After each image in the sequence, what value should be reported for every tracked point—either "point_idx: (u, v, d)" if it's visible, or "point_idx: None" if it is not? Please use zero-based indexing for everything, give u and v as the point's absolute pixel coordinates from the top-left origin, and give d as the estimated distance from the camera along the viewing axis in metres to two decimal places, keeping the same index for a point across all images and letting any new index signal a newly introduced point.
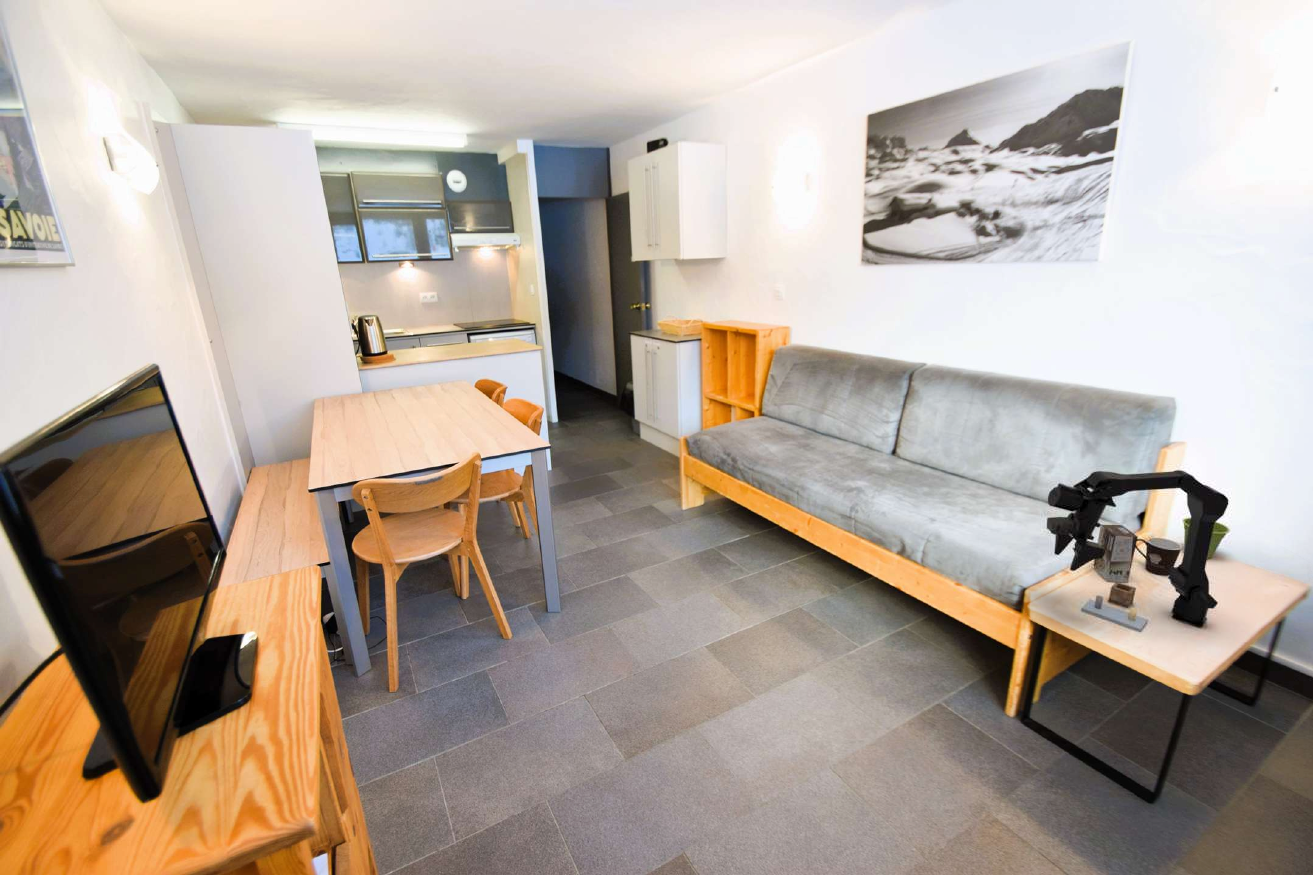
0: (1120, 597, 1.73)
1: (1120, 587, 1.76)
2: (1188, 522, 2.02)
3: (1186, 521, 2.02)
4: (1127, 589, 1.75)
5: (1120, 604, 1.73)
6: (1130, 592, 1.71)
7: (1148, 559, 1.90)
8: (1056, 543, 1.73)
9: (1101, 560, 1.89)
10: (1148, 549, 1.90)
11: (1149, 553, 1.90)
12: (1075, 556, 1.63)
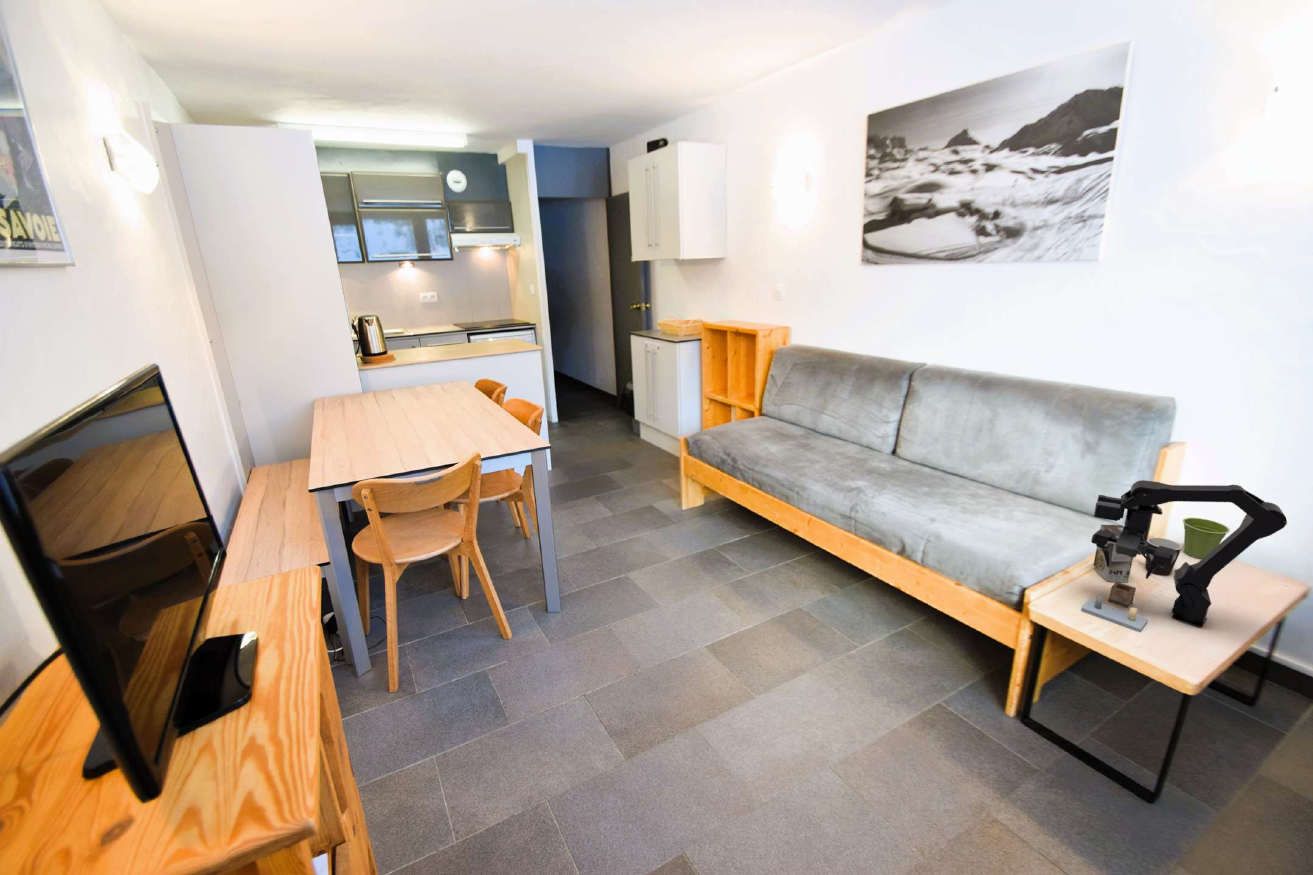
0: (1120, 597, 1.73)
1: (1120, 587, 1.76)
2: (1188, 522, 2.02)
3: (1186, 521, 2.02)
4: (1127, 589, 1.75)
5: (1120, 604, 1.73)
6: (1130, 592, 1.71)
7: (1148, 559, 1.90)
8: (1107, 557, 1.75)
9: (1101, 560, 1.89)
10: None
11: None
12: (1152, 566, 1.66)
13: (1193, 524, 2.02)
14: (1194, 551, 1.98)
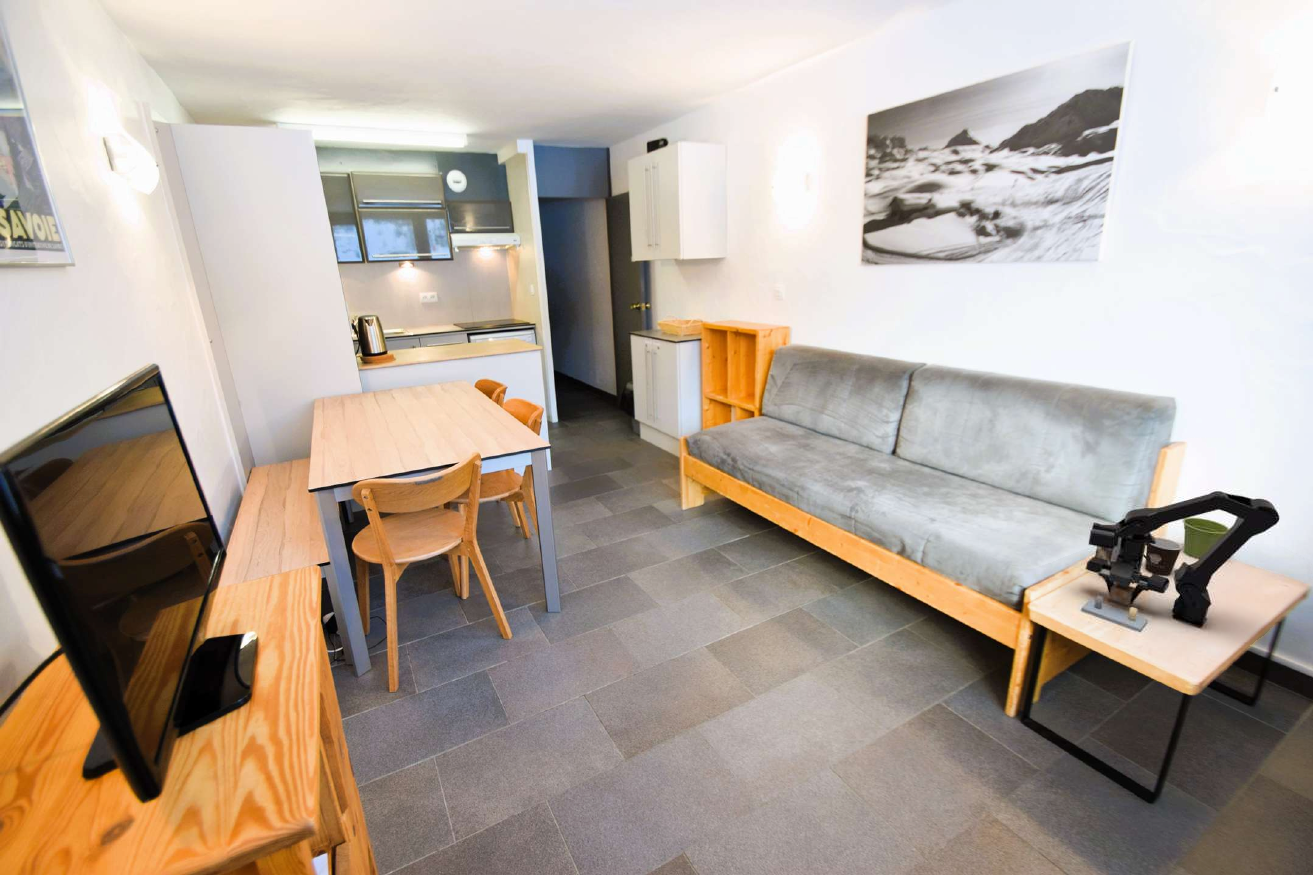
0: (1120, 597, 1.73)
1: (1120, 587, 1.76)
2: (1188, 522, 2.02)
3: (1186, 521, 2.02)
4: (1127, 589, 1.75)
5: (1120, 604, 1.73)
6: (1130, 592, 1.71)
7: (1148, 559, 1.90)
8: (1109, 586, 1.76)
9: None
10: (1148, 549, 1.90)
11: (1149, 553, 1.90)
12: (1137, 591, 1.70)
13: (1193, 524, 2.02)
14: (1194, 551, 1.98)
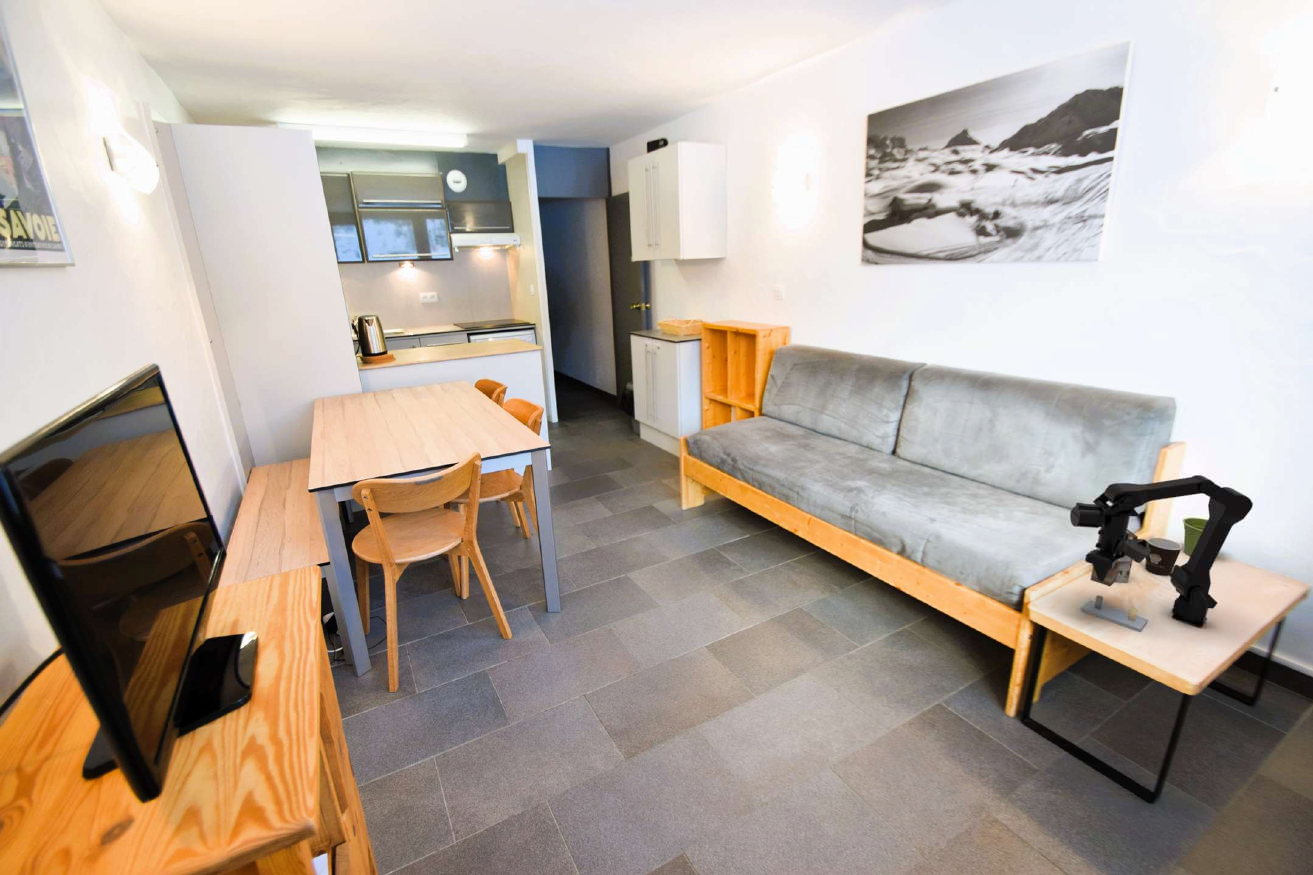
0: (1115, 575, 1.67)
1: None
2: (1188, 522, 2.02)
3: (1186, 521, 2.02)
4: None
5: (1114, 581, 1.67)
6: None
7: (1148, 559, 1.90)
8: None
9: None
10: None
11: (1149, 553, 1.90)
12: (1116, 560, 1.68)
13: (1193, 524, 2.02)
14: None
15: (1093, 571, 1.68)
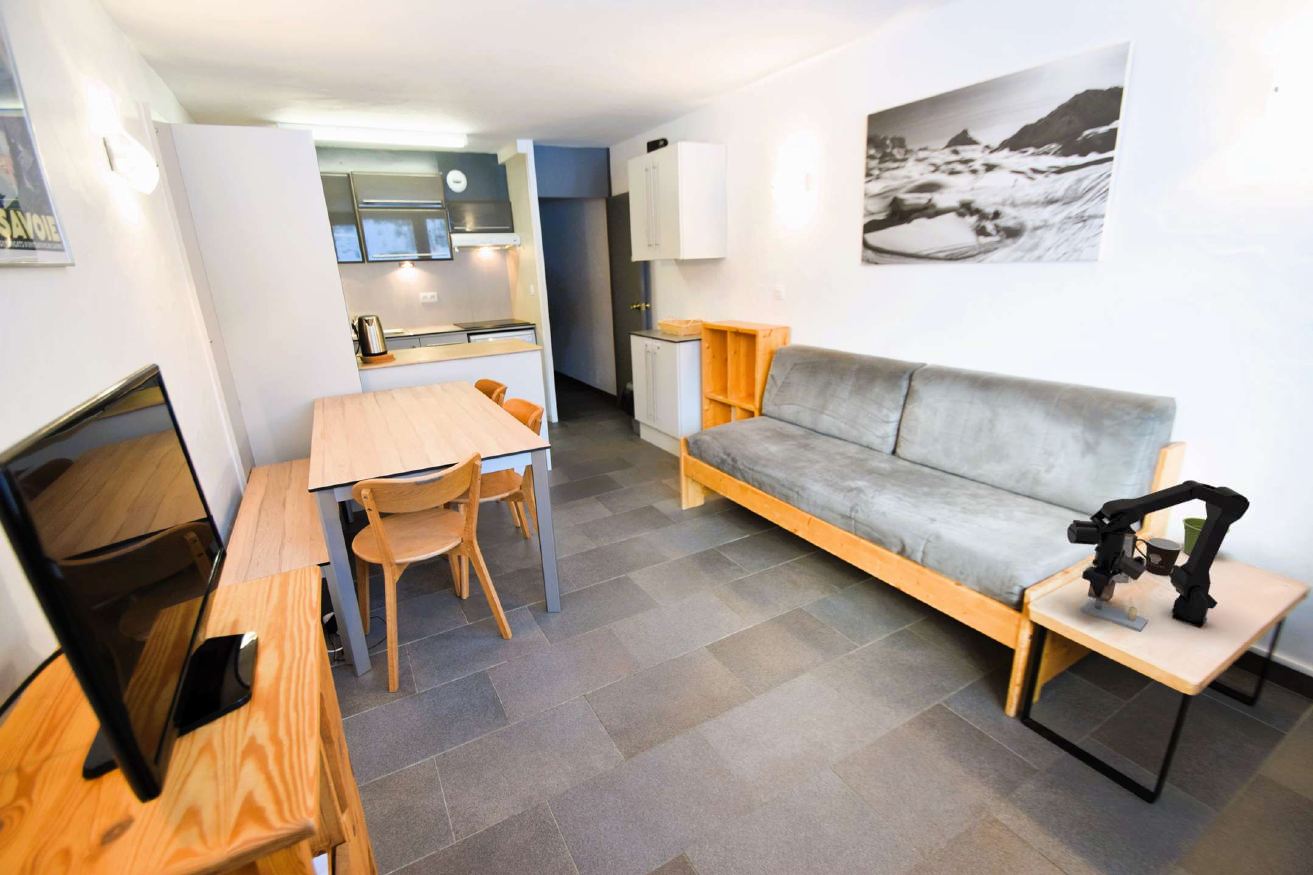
0: (1112, 591, 1.68)
1: None
2: (1188, 522, 2.02)
3: (1186, 521, 2.02)
4: None
5: (1111, 597, 1.69)
6: None
7: (1148, 559, 1.90)
8: (1103, 588, 1.67)
9: None
10: (1148, 549, 1.90)
11: (1149, 553, 1.90)
12: (1113, 576, 1.70)
13: (1193, 524, 2.02)
14: None
15: (1090, 587, 1.70)
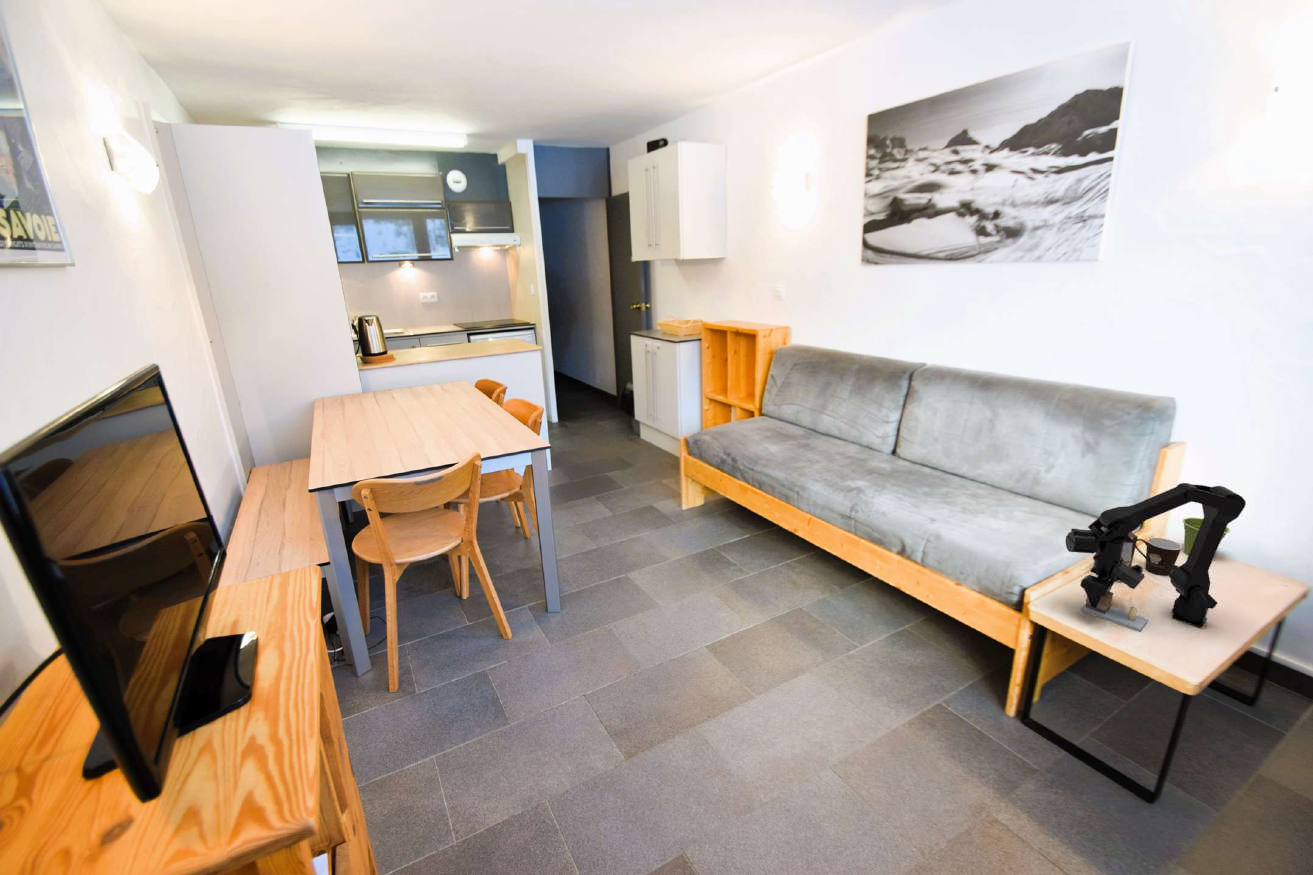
0: (1109, 602, 1.69)
1: None
2: (1188, 522, 2.02)
3: (1186, 521, 2.02)
4: None
5: (1108, 608, 1.70)
6: (1110, 592, 1.70)
7: (1148, 559, 1.90)
8: (1099, 599, 1.66)
9: None
10: (1148, 549, 1.90)
11: (1149, 553, 1.90)
12: (1113, 582, 1.72)
13: (1193, 524, 2.02)
14: None
15: None
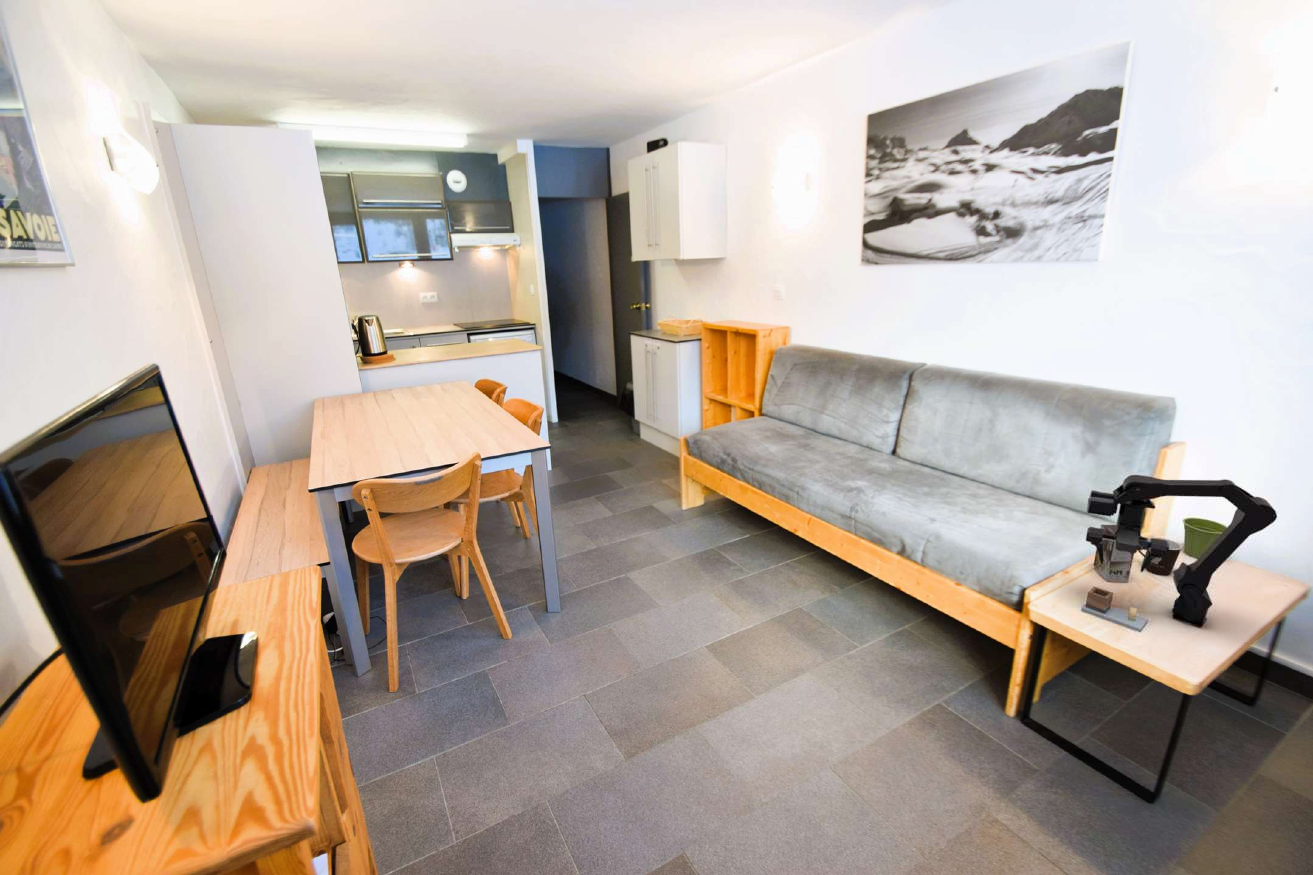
0: (1109, 602, 1.69)
1: None
2: (1188, 522, 2.02)
3: (1186, 521, 2.02)
4: (1094, 592, 1.72)
5: (1108, 608, 1.70)
6: (1110, 592, 1.70)
7: None
8: (1101, 554, 1.73)
9: None
10: None
11: None
12: (1148, 559, 1.66)
13: (1193, 524, 2.02)
14: (1194, 551, 1.98)
15: (1088, 598, 1.71)
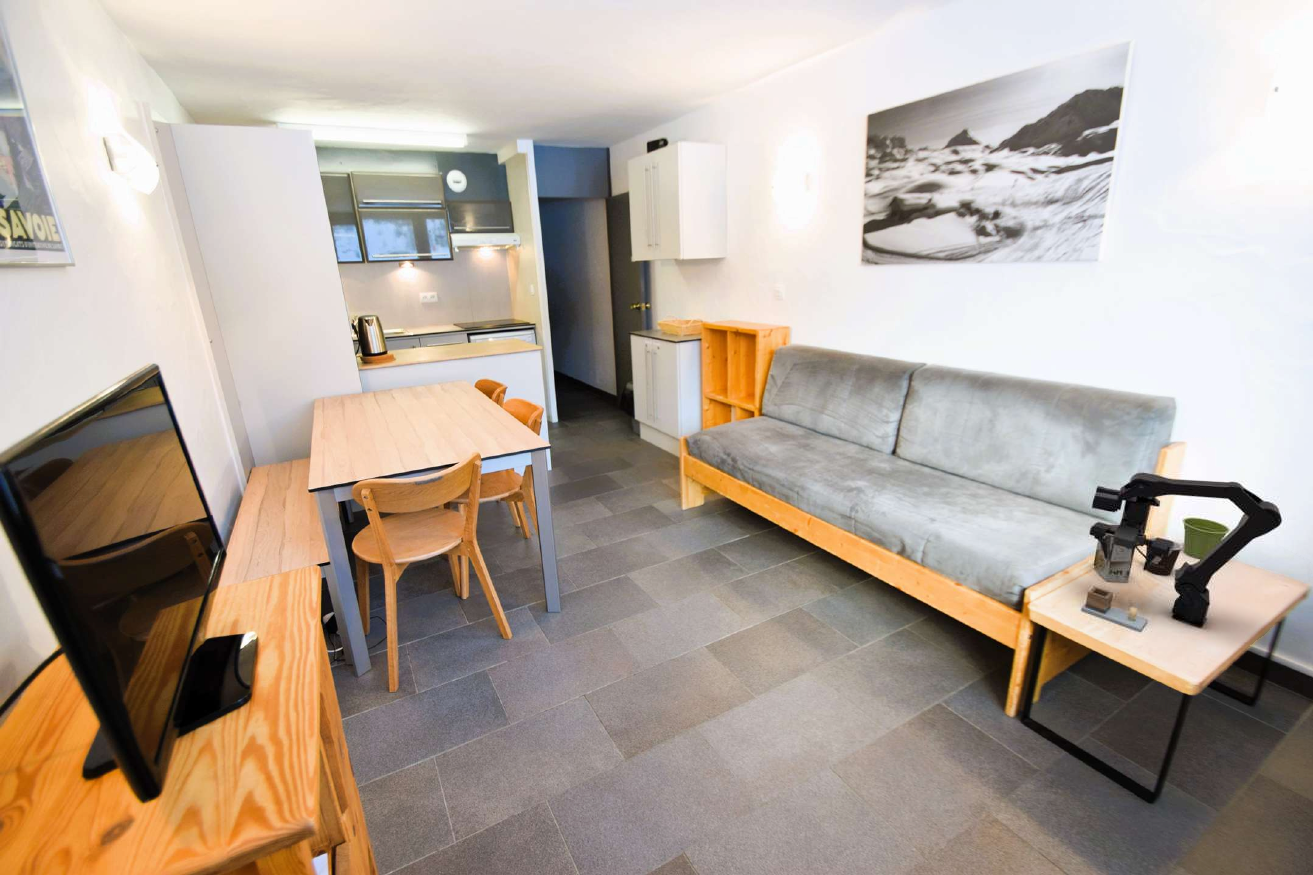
0: (1109, 602, 1.69)
1: None
2: (1188, 522, 2.02)
3: (1186, 521, 2.02)
4: (1094, 592, 1.72)
5: (1108, 608, 1.70)
6: (1110, 592, 1.70)
7: None
8: (1105, 549, 1.75)
9: (1101, 560, 1.89)
10: (1148, 549, 1.90)
11: None
12: (1150, 558, 1.67)
13: (1193, 524, 2.02)
14: (1194, 551, 1.98)
15: (1088, 598, 1.71)
